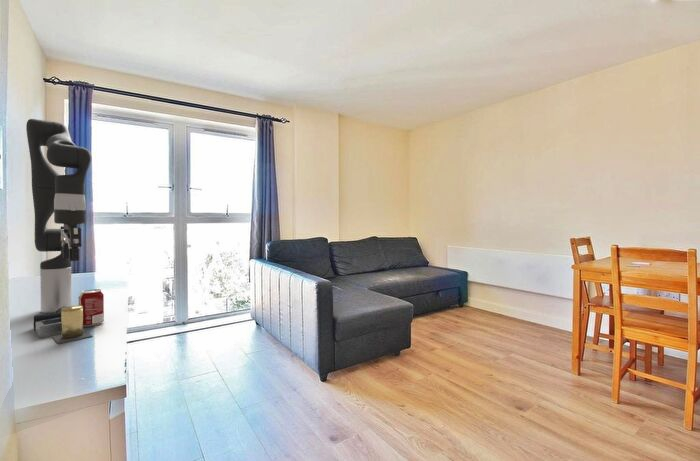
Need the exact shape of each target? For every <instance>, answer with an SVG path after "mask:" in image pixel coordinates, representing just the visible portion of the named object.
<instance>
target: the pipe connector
mask: <svg viewBox="0 0 700 461" xmlns="http://www.w3.org/2000/svg"><path fill="white" fill-rule="evenodd" d="M66 307H67V306H66ZM62 308H64V307H61V308H57V311H56V312H51V313H44V314H36V315H34V316H33V331H34V332H36V324H35V322H36V321H42V320H48V319H54V318H60V317H61V309H62Z"/></svg>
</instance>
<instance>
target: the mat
mask: <svg viewBox="0 0 700 461" xmlns="http://www.w3.org/2000/svg"><path fill="white" fill-rule="evenodd" d="M89 338H93V335H92V334H91V332H88V331H87V329H83V335H82V336H80V337H77V338H72V339H62V334H58V335H53V336H52V339H53V341H55V342H56V344H57V345H61V344H66V343H71V342H75V341H79V340H80V341H81V340H85V339H89Z"/></svg>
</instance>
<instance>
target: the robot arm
mask: <svg viewBox="0 0 700 461" xmlns="http://www.w3.org/2000/svg"><path fill="white" fill-rule="evenodd" d="M25 130H26V137H27V144H28V152H29V158H30V167H31V168H30V169H31V174H30V175H31V191H32V192H31V194H32V201H33V202H32V203H33V209H34V210H33V211H34V246H35V248H36V250H37V251H38V252H44V253H45V252H46V253H47V252H60V253H59V255H57V256H55V257H53V258H50V259H45V260H43V261H41V262H40V265H39V267H40V268H39V274H40V275H39V276H40V313H44V314H50V313H55V312H56V311H57V308H61V307H66V306H67V307H68V306H73V305H72V262H77V261H79V260H80V248H82V228H81V227H78V226H79V225H84V224H86V223H87V206H86V204H87V203H86V202H87V201H86V195H85V194H86V192H85V187H86V186H85V184H86V177H87V174H88V171H89V168H90V165H91V164H92V154H91V152H90V150H89V149H87V148H85V147H82V146H77V145H76V144H75V143H74V142H73V141H72V138H71V134H70V132H69V129H68V128H67V126H66V125H65V124H64V123H61V122H57V121H53V120H52V121H51V120H45V119H36V118H29V119H28V120H27V122H26V128H25ZM41 147H46V148H47V150H46V156H45V155H44V152H43V151H42V148H41ZM52 165H53V166H55V167H58V168H69V169H75V171H74V173H70V174H59V172H58V171H57V170H56V169H55V168H54V167H53V166H52ZM52 215H53V217H54V218H53V222H54V223H55V224H60V225H61V226H60V227H59V228H47V224H48V222H49V220H50V218H51V216H52Z"/></svg>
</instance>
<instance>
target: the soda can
mask: <svg viewBox="0 0 700 461" xmlns="http://www.w3.org/2000/svg"><path fill="white" fill-rule="evenodd" d="M104 297H105V296H104V293H103V292H102V289H101V288H99V289H98V288H96V289H95V288H92V289H85V290H81V291H80V295H79V296H78V305H81V306H83V328H91V326H92V327H96V325H97V326H99V325H100V324H102V323H104V321H105V319H104V318H105V315H104V314H105V312H104V311H105V308H104V306H105V305H104V301H105V300H104V299H105V298H104Z"/></svg>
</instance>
